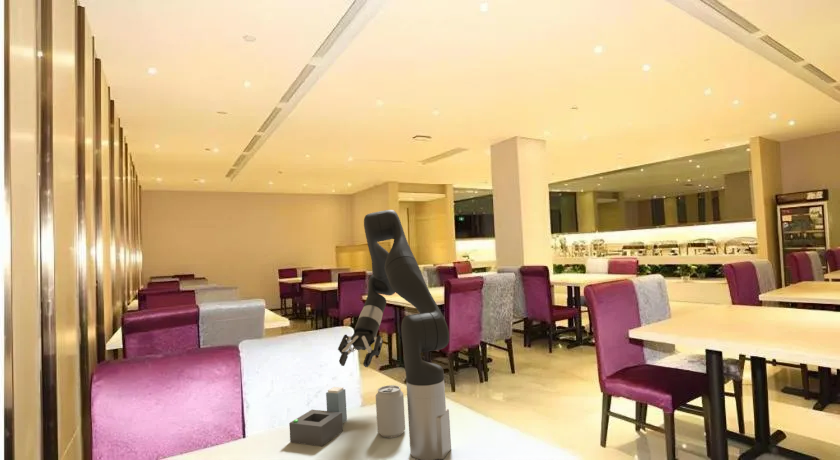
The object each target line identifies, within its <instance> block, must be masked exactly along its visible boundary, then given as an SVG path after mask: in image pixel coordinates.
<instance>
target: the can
mask: <svg viewBox="0 0 840 460" xmlns="http://www.w3.org/2000/svg"><path fill="white" fill-rule="evenodd" d="M401 389H402V388H401V387H400V386H399V385H396V384H395V385H394V384H393V385H392V384H391V385H390V384H389V385H383V386H381V387H379V388H377V392H376V394H375V409H376V426H377V427H376V428H377V429H376V430H377V433H378V434H379V435H381V436H382V437H383V438H388V439H389V438H396V437H399V436H402V434H403V433H404V432H405V430H406V416H405V402H404V401H405V400H404V392H403V391H402V390H401Z"/></svg>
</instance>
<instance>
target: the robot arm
mask: <svg viewBox="0 0 840 460" xmlns="http://www.w3.org/2000/svg"><path fill="white" fill-rule="evenodd" d="M363 227H364V233H365V234H364V235H365V240H366V243H367V248H368V251H369V255H370V258H371V272H372V274H371V275H370V276H369V278H368V282H367V283H368V285H367V287H368V290H367V297H366V300H365V302H364V305H363V307H362V310H361V311H360V314H359V317H358V318H357V322H356V323H355V327H354V331H353V334H352V335H348V334H344V335H343V337H342V339H341V341H340V343H339V345H338V348H337V350H338V352H339V353H340V354H341V355H340V357H339V361H338V362H339V365H340V366H341V367H345V365H346V363H347V360H348V357H349V355H350V354H351V353H354V352H355V351H356V350H357V351H365V350H366V351H367V353H366V354H365V357H364V360H363V363H362V364H363V367H364V368H369V366H370V365H371V363H372V360H373V357H374V356H379V355H380V354H381V350H382V346H383V343H384V339H383V338H382V336H381V335H377V334H378V332H379V329H380V326H381V322H382V319H383V315H384V311H385V308H386V306H387V299H386V298H385V296H393V295H394V294H395V293H396V294H397V295H398V296H400V297H401V298H402V299H404V300H405V301H406V302H408V304H410V305H412V307H414V308H415V309H416V310H417V311H418V312H419V313H413V314H407V315H405V316H403V318H402V320H401V326H400V327H401V328H400V329H401V330H400V331H401V341H402V351H403V360H404V361H403V363H404V370H405V381H406V398H407V399H406V400H407V402H406V403H407V419H408V420H407V421H408V432H409V433H408V434H409V435H408V436H409V447H410V449H409V450H410V451H409V452H410V455H411V457H413V458H415V459H417V460H444V459H445V457H447V455H448V453H449V452H450V451H451V449H452V439H451V425H450V423H451V421H450V410H449V408H447V405H446V404H447V403H446V402H447V401H446V390H445V373H444V368H443V367H442V366H441V365H440V364H437V363H433V362H428V361H425V360H423V359H422V354H421V353H427V352H433V351H439V350H442V349H445V348H446V347H447V346H448V344H449V342H450V332H449V326H448V324H447V322H446V318H445V316H444V315H443V312H442V311H441V309H440V308H439V306H438V304H437V303H436V301H435V299H434V296H433V295H432V294H431V292H430V290H429V288H428V286H427V283H426V280H425V279H424V276H423V274H422V271H421V269H420V267H419V264H418V262H417V259H416V258H415V255H414V253H413V251H412V250H411V249H412V248H411V247H410V245H409V243H408V240H407V238H406V235H405V232H404V228H403V226H402V222H401V220H400V217H399V215H398V213H397V212H396V211H395V210H394V209H386V210H380V211H375V212H370V213H367V214H365V216H364V219H363ZM390 240H393V242H392V245H391V249H390V250H389V252H388V250H386V248H384V247H383V246H382V245H380V244H379V243H380V242H383V241H390ZM383 295H385V296H383ZM374 343H375V344H374ZM373 344H374V347H372V345H373ZM372 348H373V349H372Z"/></svg>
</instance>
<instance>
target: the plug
mask: <svg viewBox="0 0 840 460" xmlns="http://www.w3.org/2000/svg"><path fill="white" fill-rule="evenodd" d="M346 394H347V393H346V389H344V387H339V386H338V387H337V386H333V387H332V388H330V389H328V390H327V392H326V393H325V397H326V400H325V402H326V411H332V412H342V422H343V424H344V423H345V422H347V421H348V417H347V396H346Z"/></svg>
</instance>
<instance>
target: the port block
mask: <svg viewBox="0 0 840 460" xmlns="http://www.w3.org/2000/svg"><path fill="white" fill-rule="evenodd" d="M343 431H344V423H343V422H342V412H332V411H327V410H321V409H320V410H319V409H311V410H308V411H307V412H306V413H303V414H302V415H300V416H298V417H296V418H295V419H294V420H292V421H290V422H289V441H290V442H289V443H296V444H303V445H309V446H316V447H323V446H325V445H326V444H328V443H329V442H330V441H332V440H333V439H334V438H335V437H337V436H338V435H340V434H341V433H342V432H343Z"/></svg>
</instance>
